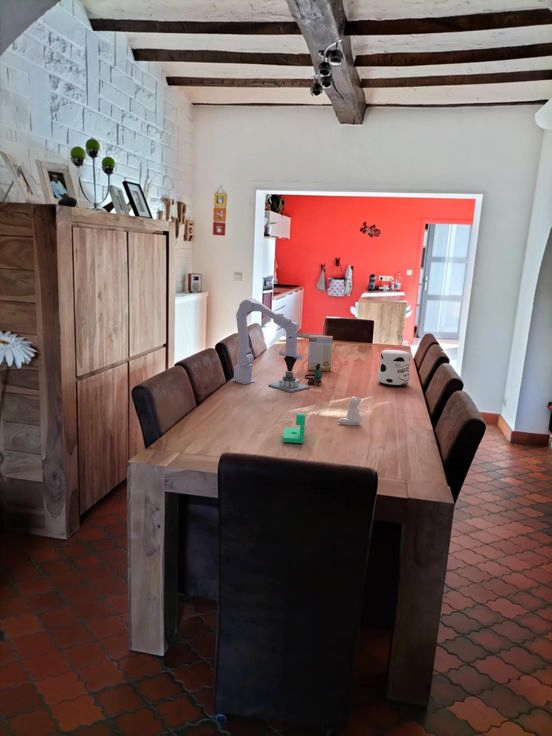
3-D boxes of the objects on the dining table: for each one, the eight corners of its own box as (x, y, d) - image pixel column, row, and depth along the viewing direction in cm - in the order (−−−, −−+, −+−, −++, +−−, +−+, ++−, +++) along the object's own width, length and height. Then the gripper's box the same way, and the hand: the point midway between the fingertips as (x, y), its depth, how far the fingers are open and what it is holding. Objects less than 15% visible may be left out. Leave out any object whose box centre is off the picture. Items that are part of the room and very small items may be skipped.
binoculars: (305, 363, 294) (323, 363, 292) (306, 382, 296) (324, 382, 294) (302, 366, 285) (321, 366, 283) (303, 385, 287) (322, 385, 285)
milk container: (409, 389, 287) (412, 356, 283) (376, 386, 290) (379, 353, 286) (408, 382, 303) (411, 350, 299) (377, 379, 306) (380, 348, 303)
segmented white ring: (275, 384, 280) (275, 378, 279) (288, 382, 287) (288, 376, 286) (289, 388, 273) (289, 382, 272) (302, 385, 280) (303, 380, 279)
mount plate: (268, 386, 280) (268, 384, 280) (286, 382, 290) (287, 380, 290) (291, 392, 270) (291, 390, 269) (309, 388, 280) (309, 386, 279)
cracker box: (330, 369, 326) (333, 335, 321) (330, 372, 320) (333, 337, 315) (307, 368, 327) (309, 334, 322) (307, 370, 321) (309, 335, 316)
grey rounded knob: (279, 384, 280) (280, 371, 278) (288, 382, 284) (289, 369, 283) (288, 387, 275) (289, 374, 273) (298, 385, 280) (298, 372, 278)
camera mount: (284, 433, 210) (286, 408, 208) (304, 435, 209) (305, 409, 207) (282, 444, 198) (283, 417, 196) (303, 445, 198) (304, 419, 196)
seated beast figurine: (348, 418, 232) (350, 392, 229) (366, 423, 226) (368, 396, 224) (336, 423, 224) (338, 396, 222) (354, 428, 219) (356, 400, 217)
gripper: (275, 343, 277) (274, 369, 280) (296, 348, 267) (295, 374, 270) (284, 342, 282) (283, 367, 285) (305, 346, 272) (304, 372, 275)
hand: (289, 370), depth 278 cm, fingers closed
